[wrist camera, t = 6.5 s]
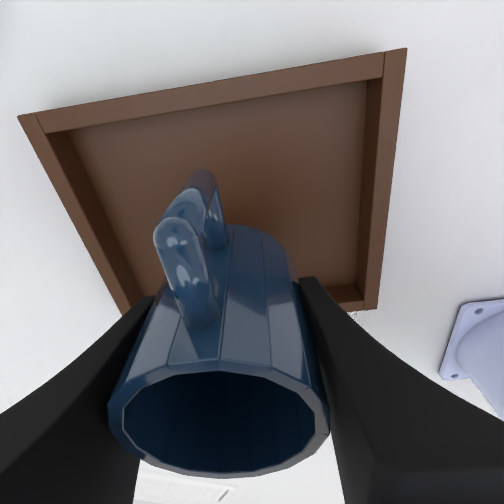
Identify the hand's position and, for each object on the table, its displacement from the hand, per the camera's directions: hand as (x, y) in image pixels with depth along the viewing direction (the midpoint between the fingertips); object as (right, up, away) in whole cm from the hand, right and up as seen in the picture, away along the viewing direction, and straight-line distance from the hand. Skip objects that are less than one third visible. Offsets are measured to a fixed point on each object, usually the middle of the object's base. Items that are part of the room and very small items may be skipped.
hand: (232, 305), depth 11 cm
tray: (0, +4, +4) cm, 6 cm away
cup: (0, +2, +1) cm, 2 cm away
